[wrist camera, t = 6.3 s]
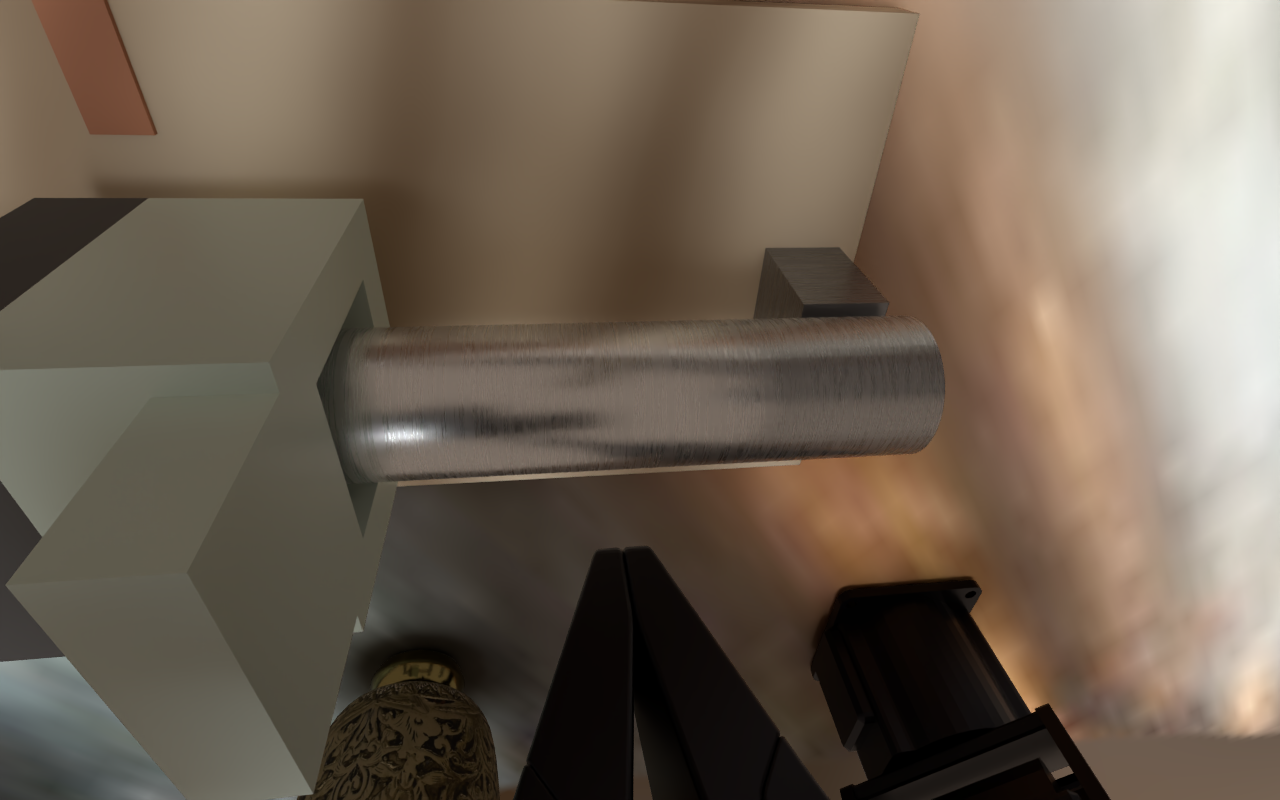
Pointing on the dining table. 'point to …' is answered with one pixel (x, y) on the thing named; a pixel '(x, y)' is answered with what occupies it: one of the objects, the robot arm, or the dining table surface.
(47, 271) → the rubber collar
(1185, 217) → the dining table surface
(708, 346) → the steel pipe
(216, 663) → the sleeve
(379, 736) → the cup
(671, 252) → the base board
